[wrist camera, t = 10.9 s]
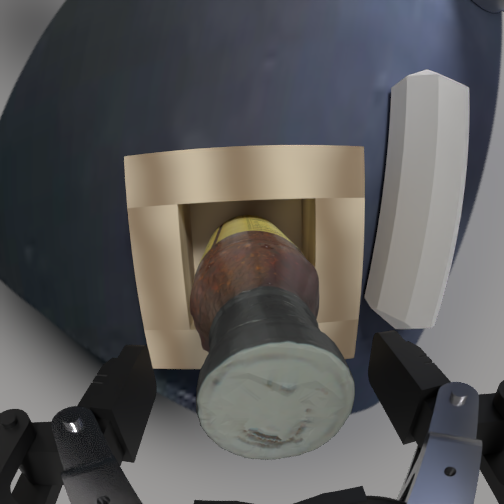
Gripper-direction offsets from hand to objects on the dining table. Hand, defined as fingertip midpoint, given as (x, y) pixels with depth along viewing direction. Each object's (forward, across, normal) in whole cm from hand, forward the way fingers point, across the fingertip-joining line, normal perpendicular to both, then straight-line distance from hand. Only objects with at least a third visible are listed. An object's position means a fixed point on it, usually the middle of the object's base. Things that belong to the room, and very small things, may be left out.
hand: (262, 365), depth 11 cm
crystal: (+18, -16, -4) cm, 24 cm away
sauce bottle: (+16, 0, 0) cm, 17 cm away
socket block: (+17, 0, 0) cm, 17 cm away
